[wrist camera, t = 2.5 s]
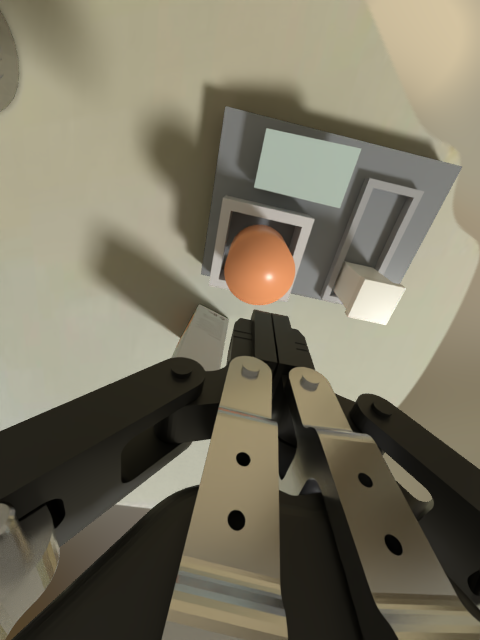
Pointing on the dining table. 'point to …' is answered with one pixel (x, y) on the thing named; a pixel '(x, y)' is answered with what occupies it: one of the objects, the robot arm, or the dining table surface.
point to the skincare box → (204, 339)
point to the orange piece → (259, 265)
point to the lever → (367, 293)
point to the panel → (324, 208)
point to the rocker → (305, 167)
